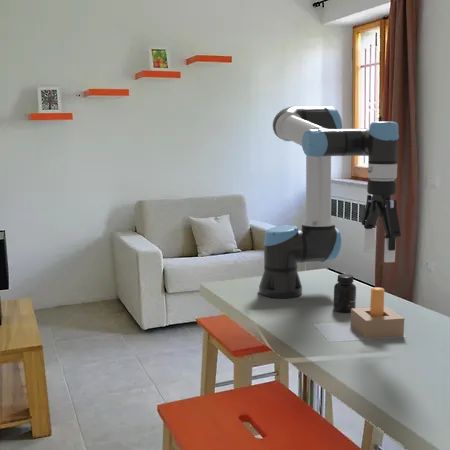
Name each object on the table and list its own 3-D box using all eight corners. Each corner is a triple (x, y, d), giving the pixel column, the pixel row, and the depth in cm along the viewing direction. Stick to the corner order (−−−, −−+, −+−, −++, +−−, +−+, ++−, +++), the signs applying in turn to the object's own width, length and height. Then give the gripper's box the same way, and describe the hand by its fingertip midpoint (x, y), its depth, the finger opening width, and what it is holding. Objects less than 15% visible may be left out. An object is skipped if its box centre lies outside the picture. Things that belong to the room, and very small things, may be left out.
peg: (367, 328, 168) (369, 287, 166) (379, 327, 168) (381, 287, 166) (372, 332, 164) (374, 291, 162) (384, 332, 165) (386, 290, 163)
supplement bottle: (355, 316, 182) (356, 278, 180) (333, 315, 183) (334, 277, 181) (355, 310, 188) (356, 273, 186) (333, 308, 190) (334, 272, 188)
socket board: (312, 327, 172) (312, 307, 171) (383, 323, 176) (384, 303, 175) (329, 345, 158) (329, 324, 157) (406, 340, 161) (407, 319, 160)
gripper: (351, 175, 171) (349, 247, 175) (388, 184, 147) (385, 267, 150) (376, 175, 172) (373, 246, 176) (416, 183, 148) (412, 266, 151)
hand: (378, 256), depth 163 cm, fingers open, 13 cm apart
